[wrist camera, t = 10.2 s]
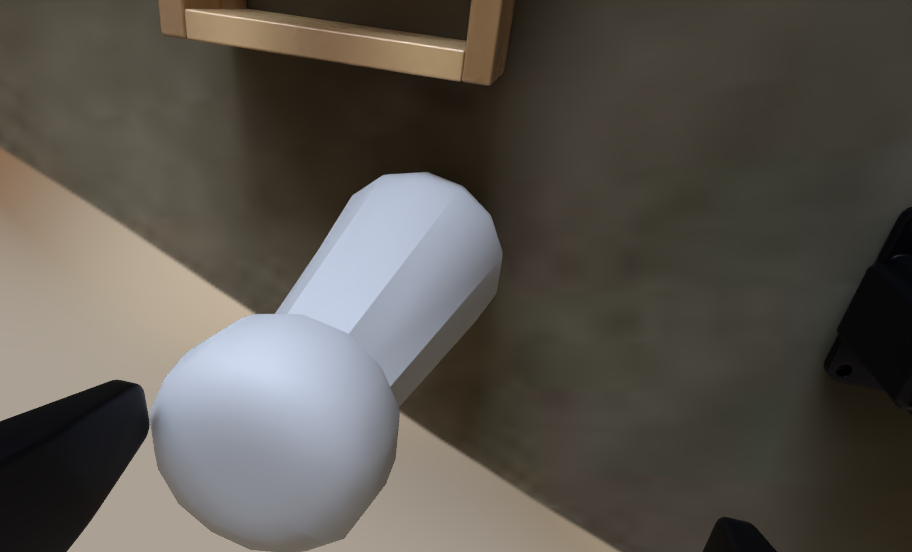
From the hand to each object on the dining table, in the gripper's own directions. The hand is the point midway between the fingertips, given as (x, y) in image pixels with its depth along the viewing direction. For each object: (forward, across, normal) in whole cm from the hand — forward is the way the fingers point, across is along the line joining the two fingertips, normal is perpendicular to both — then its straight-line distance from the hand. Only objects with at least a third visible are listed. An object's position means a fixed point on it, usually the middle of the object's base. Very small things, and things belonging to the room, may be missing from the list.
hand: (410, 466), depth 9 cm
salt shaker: (+13, +2, +2) cm, 13 cm away
